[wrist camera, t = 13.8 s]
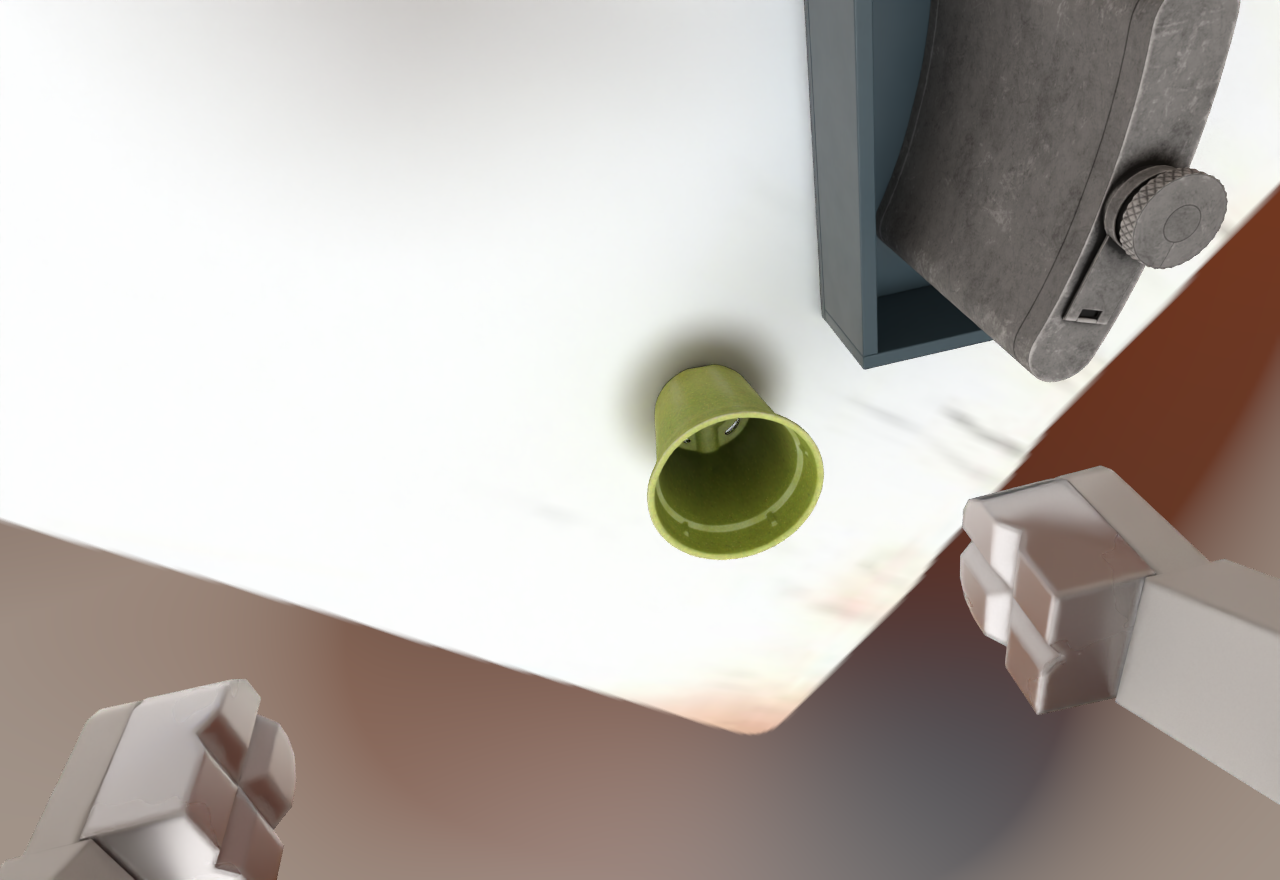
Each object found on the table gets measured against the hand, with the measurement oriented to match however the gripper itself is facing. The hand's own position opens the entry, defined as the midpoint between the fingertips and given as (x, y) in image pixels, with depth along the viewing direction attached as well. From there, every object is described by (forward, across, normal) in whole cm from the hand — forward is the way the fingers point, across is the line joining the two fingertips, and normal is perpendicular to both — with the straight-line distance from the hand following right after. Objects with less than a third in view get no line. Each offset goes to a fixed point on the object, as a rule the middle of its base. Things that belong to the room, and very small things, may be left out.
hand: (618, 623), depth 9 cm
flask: (+35, -20, +7) cm, 41 cm away
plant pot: (+36, -6, +21) cm, 42 cm away
